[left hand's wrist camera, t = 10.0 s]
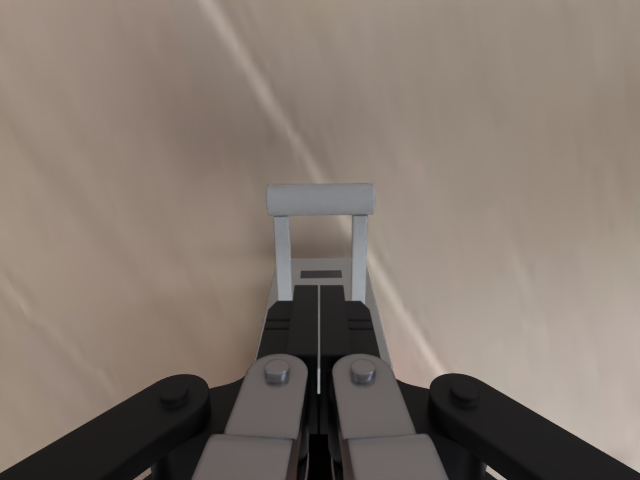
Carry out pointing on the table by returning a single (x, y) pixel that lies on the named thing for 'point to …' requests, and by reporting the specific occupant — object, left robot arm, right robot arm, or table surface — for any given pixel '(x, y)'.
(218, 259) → the table surface
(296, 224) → the table surface
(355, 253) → the drawer
